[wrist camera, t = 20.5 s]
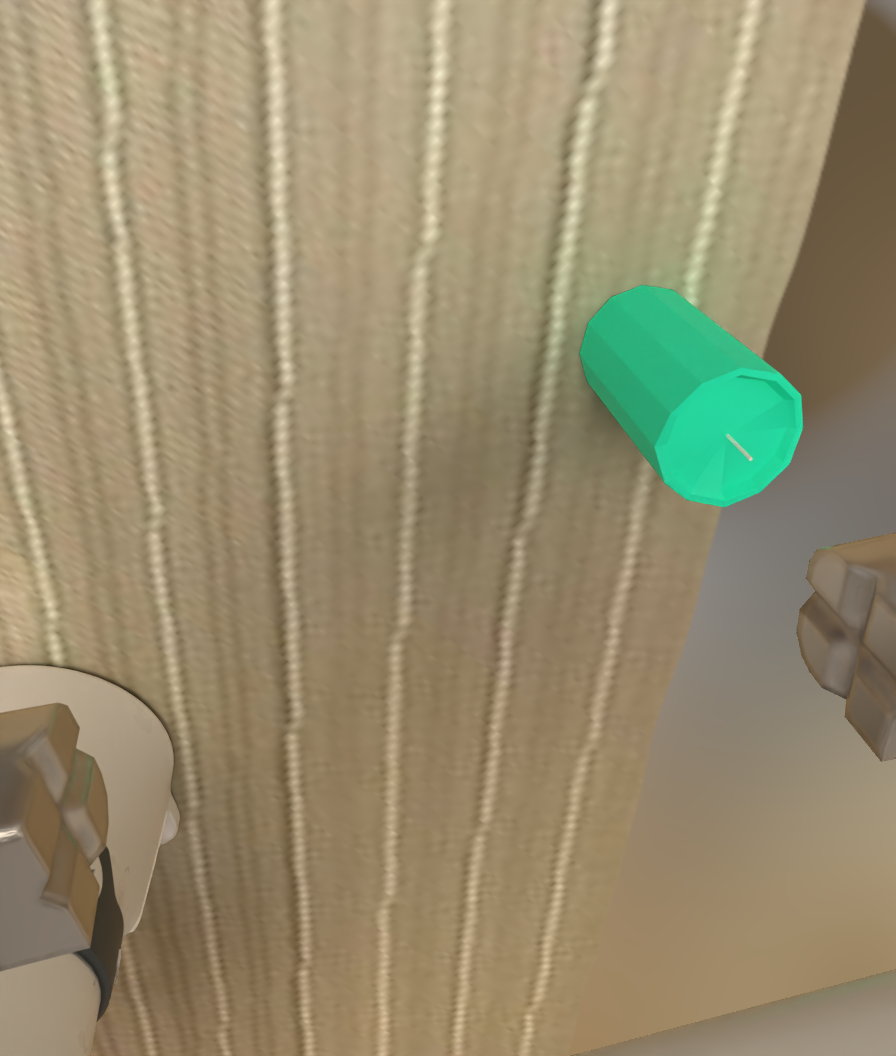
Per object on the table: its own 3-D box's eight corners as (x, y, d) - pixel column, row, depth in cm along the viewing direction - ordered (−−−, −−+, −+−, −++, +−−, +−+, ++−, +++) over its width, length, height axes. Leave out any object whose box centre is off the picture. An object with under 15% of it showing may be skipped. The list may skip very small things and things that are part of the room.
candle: (620, 264, 39) (734, 358, 29) (722, 313, 41) (860, 417, 31) (557, 377, 42) (642, 499, 32) (655, 419, 44) (764, 546, 34)
